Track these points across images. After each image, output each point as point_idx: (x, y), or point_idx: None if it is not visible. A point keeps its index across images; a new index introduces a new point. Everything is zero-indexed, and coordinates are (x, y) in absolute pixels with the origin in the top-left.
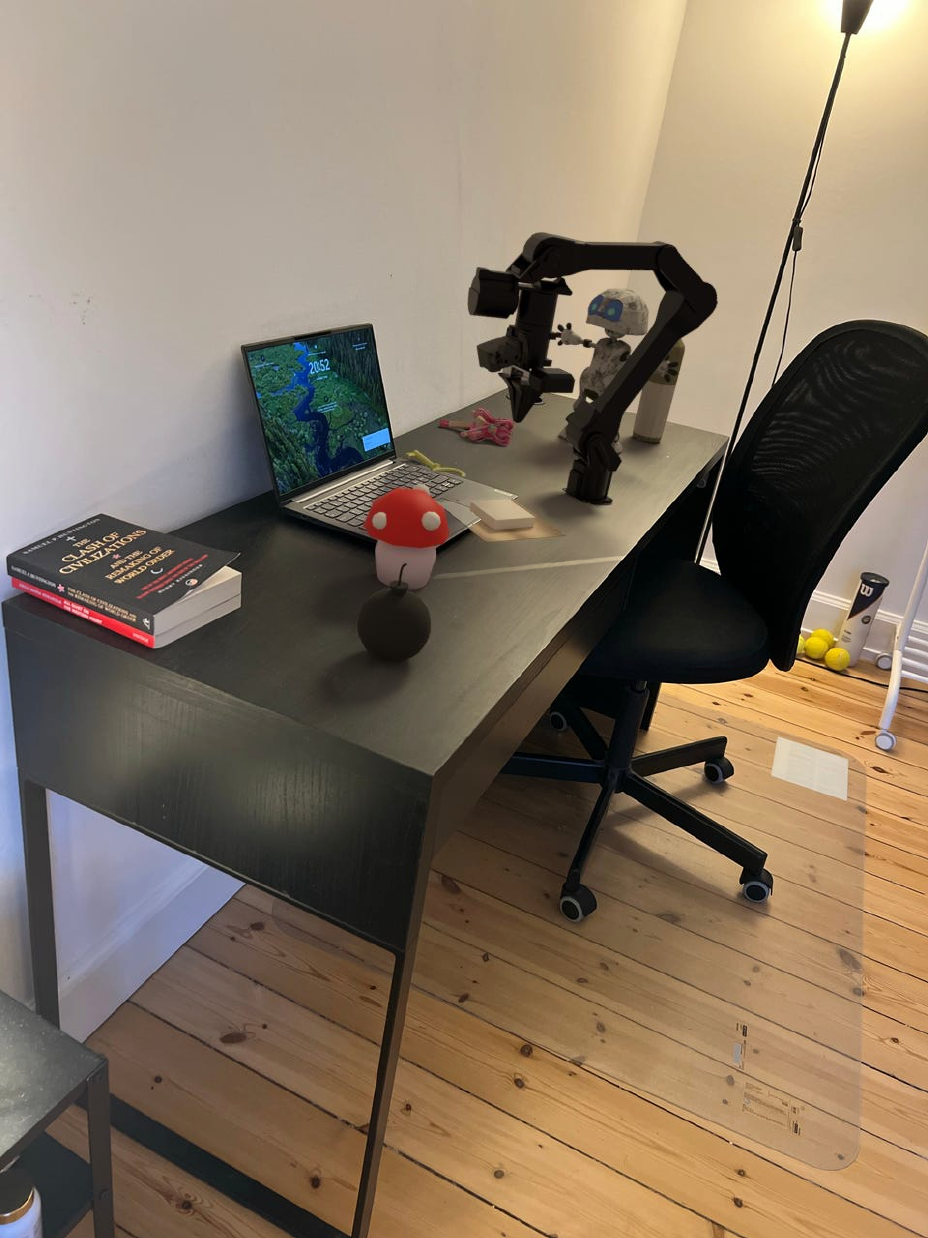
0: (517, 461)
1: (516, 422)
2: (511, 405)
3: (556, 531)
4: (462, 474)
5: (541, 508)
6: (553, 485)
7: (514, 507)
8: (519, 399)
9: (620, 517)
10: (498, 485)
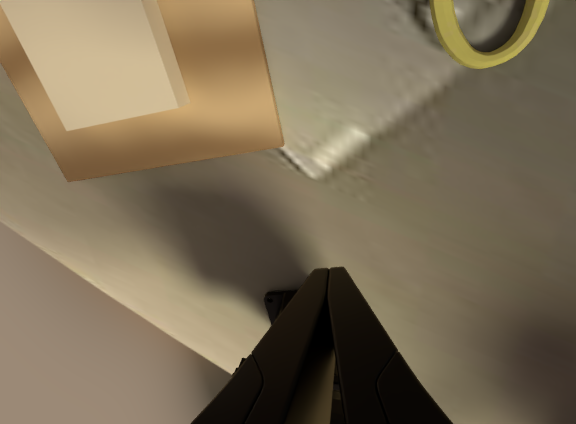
0: (571, 282)
1: (313, 271)
2: (365, 319)
3: (81, 170)
4: (477, 54)
5: (238, 202)
6: (384, 289)
7: (116, 97)
8: (226, 390)
9: (215, 324)
10: (395, 156)
